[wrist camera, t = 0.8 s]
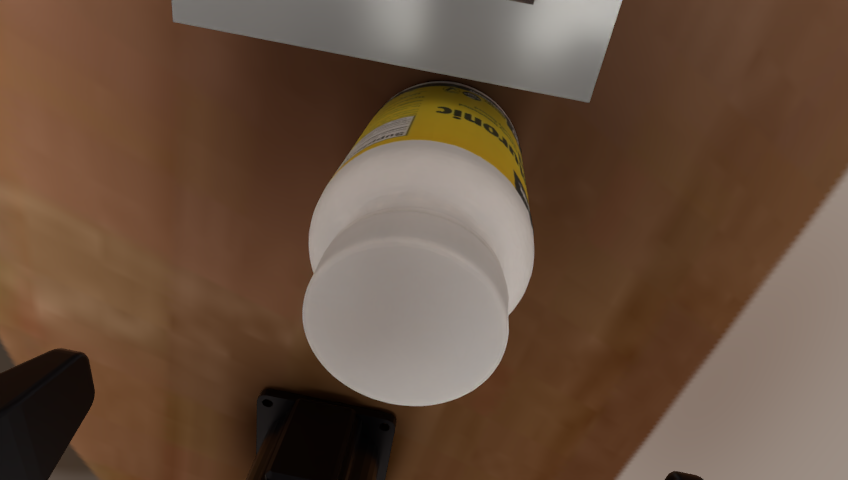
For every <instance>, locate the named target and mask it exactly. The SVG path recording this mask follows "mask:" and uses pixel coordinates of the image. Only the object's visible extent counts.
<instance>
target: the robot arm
mask: <svg viewBox="0 0 848 480" xmlns="http://www.w3.org/2000/svg"><path fill="white" fill-rule="evenodd" d="M94 394H95V389H94V384H93V379H92V374H91V368H90V363H89V359H88V357H87V356H86V355H85V354H84V353H82V352H78V351H73V350H68V349H62V348H60V349H54V350H51V351H49V352H46V353H44V354H42V355H40V356H37V357H35V358H33V359H31V360H29V361H26V362H24V363H22V364H20V365H17V366H15V367H13V368H11V369H8V370H6V371H4V372H2V373H0V480H48V478H49V477H50V475H51V473H52V472H53V470H54V468H55V467H56V465H57V463H58V462H59V460H60V458H61V456H62V455H63V453H64V451H65V450H66V448H67V446H68V445H69V443H70V441H71V440H72V438H73V436H74V435H75V433H76V431H77V429H78V428H79V426H80V424H81V423H82V421H83V419H84V418H85V416H86V414H87V413H88V411H89V409H90V407H91V405H92V403H93V400H94ZM270 400H271V401H270ZM383 423H386V424H383ZM395 427H396V419H395V417H394V416H393V415H391V414H389V413H385V412H380V411H375V410H370V409H365V408H360V407H356V406H351V405H346V404H341V403H336V402H331V401H326V400H321V399H316V398H311V397H307V396H302V395H297V394H292V393H287V392H282V391H277V390H272V389H265V390H263V391H262V392H261V393H260V395H259V397H258V399H257V445H256V458H255V460H254V462H253V465H252V467H251V469H250V471H249V473H248V475H247V478H246V480H385V477H386V472H387V467H388V462H389V457H390V452H391V447H392V442H393V437H394V432H395ZM665 480H703V479H702V478H701V477H699V476H697V475H692V474H687V473H683V472H677V471H673V472H671V473H669V474H668V476H667V477H666V479H665Z"/></svg>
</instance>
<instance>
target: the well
mask: <svg viewBox="0 0 848 480" xmlns="http://www.w3.org/2000/svg"><path fill="white" fill-rule="evenodd" d="M621 3H622V0H172V14H173V22H176V23H182V24H187V25H192V26H197V27H202V28H207V29H212V30H218V31H223V32H228V33H233V34H238V35H243V36H248V37H254V38H259V39H264V40H269V41H274V42H279V43H284V44H290V45H295V46H300V47H305V48H310V49H315V50H320V51H326V52H331V53H336V54H341V55H346V56H351V57H356V58H362V59H367V60H372V61H377V62H382V63H387V64H392V65H398V66H403V67H408V68H413V69H418V70H423V71H428V72H434V73H439V74H444V75H449V76H454V77H459V78H464V79H470V80H475V81H480V82H485V83H490V84H495V85H500V86H506V87H511V88H516V89H521V90H526V91H531V92H536V93H542V94H547V95H552V96H557V97H562V98H567V99H573V100H578V101H583V102H588V103H589V102H590V99H591V96H592V93H593V90H594V86H595V83H596V80H597V77H598V74H599V71H600V68H601V65H602V62H603V59H604V55H605V52H606V49H607V46H608V43H609V40H610V37H611V34H612V31H613V27H614V24H615V21H616V18H617V15H618V12H619V9H620V6H621Z"/></svg>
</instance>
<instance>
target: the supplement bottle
mask: <svg viewBox="0 0 848 480" xmlns="http://www.w3.org/2000/svg"><path fill="white" fill-rule="evenodd" d="M533 235H534V231H533V224H532V219H531V214H530V208H529V201H528V194H527V188H526V180H525V174H524V168H523V161H522V153H521V148H520V145H519V141H518V137H517V134H516V132H515V129H514V127H513V125H512V123H511V121H510V119H509V118H508V116H507V115H506V113H505V112H504V111H503V110H502V108H501V107H500V106H499V105H498V104H497V103H496V102H495V101H493V100H492V99H491V98H490V97H488V96H487V95H485V94H484V93H482V92H480V91H478V90H477V89H475V88H472V87H470V86H467V85H464V84H461V83H456V82H449V81H434V82H426V83H422V84H418V85H415V86H412V87H410V88H407V89H405V90H403V91H402V92H400V93H398V94H396V95H395V96H394V97H392V98H391V99H390V100H389V101H388V102H387V103H386V104H385V105H384V106H383V107H382V108H381V109H380V110H379V111H378V112H377V113H376V114H375V116H374V117H373V119H372V120H371V121H370V123H369V124H368V126H367V127H366V129H365V130H364V132H363V133H362V134H361V136H360V137H359V139H358V140H357V142H356V143H355V145H354V146H353V148H352V149H351V151H350V152H349V154H348V155H347V157H346V158H345V160H344V161H343V163H342V164H341V166H340V167H339V168H338V170H337V171H336V173H335V174H334V175H333V177H332V178H331V180H330V181H329V183H328V184H327V186H326V188H325V189H324V191H323V193H322V195H321V197H320V199H319V201H318V203H317V205H316V208H315V210H314V213H313V216H312V220H311V225H310V230H309V255H310V262H311V266H312V270H313V273H314V274H313V276H312V278H311V280H310V282H309V285H308V287H307V290H306V293H305V297H304V302H303V316H302V318H303V325H304V331H305V335H306V338H307V340H308V342H309V345H310V347H311V349H312V351H313V352H314V354H315V355H316V357H317V358H318V360H319V361H320V363H321V364H322V365H323V366H324V367H325V368H326V369H327V370H328V372H329V373H331V374H332V375H333V376H334V377H335V378H336V379H338V380H339V381H340V382H342V383H343V384H345V385H346V386H348V387H349V388H351V389H352V390H354V391H356V392H358V393H360V394H362V395H365V396H367V397H370V398H372V399H375V400H378V401H382V402H385V403H390V404H396V405H404V406H427V405H435V404H440V403H445V402H448V401H451V400H454V399H457V398H459V397H462V396H464V395H466V394H468V393H469V392H471V391H473V390H474V389H476V388H477V387H478V386H480V385H481V384H482V383H483V382H485V381H486V380H487V379H488V378H489V376H490V375H491V374H492V373H493V372H494V370H495V369H496V367H497V366H498V364H499V363H500V361H501V359H502V356H503V354H504V352H505V349H506V345H507V341H508V335H509V321H508V316H509V314H510V313H511V312H512V311H513V310H514V308H515V307H516V306H517V304H518V303H519V301H520V300H521V298H522V296H523V295H524V293H525V291H526V288H527V286H528V283H529V280H530V277H531V274H532V269H533V263H534V238H533Z"/></svg>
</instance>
